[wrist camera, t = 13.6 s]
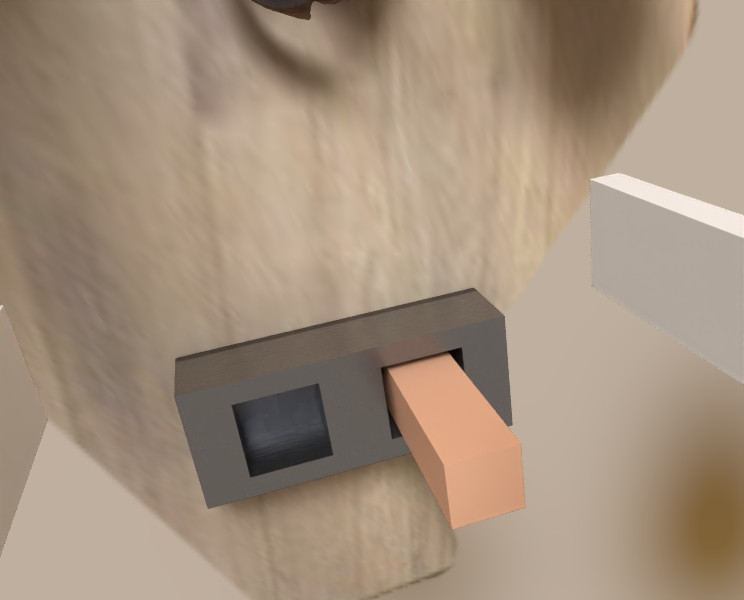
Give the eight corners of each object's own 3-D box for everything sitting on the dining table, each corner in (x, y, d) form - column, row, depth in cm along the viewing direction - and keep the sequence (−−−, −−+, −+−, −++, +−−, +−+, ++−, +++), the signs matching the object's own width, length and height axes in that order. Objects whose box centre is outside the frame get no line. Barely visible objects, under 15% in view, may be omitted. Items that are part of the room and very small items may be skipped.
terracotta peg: (381, 395, 47) (452, 529, 35) (372, 343, 46) (443, 465, 33) (436, 381, 48) (525, 507, 36) (430, 329, 47) (520, 443, 34)
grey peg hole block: (205, 462, 47) (207, 509, 42) (175, 358, 44) (174, 396, 39) (483, 389, 50) (512, 425, 46) (473, 287, 47) (504, 315, 42)
